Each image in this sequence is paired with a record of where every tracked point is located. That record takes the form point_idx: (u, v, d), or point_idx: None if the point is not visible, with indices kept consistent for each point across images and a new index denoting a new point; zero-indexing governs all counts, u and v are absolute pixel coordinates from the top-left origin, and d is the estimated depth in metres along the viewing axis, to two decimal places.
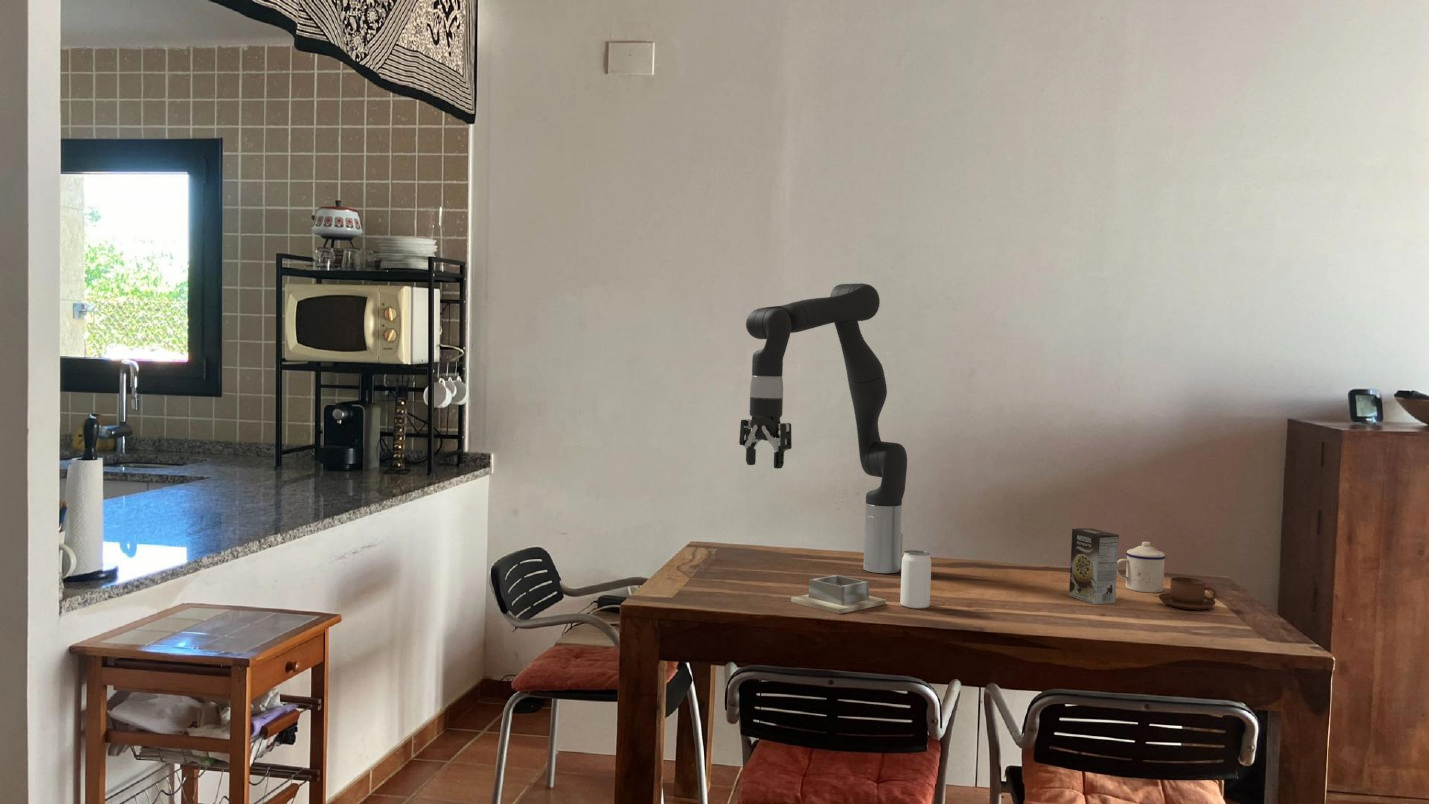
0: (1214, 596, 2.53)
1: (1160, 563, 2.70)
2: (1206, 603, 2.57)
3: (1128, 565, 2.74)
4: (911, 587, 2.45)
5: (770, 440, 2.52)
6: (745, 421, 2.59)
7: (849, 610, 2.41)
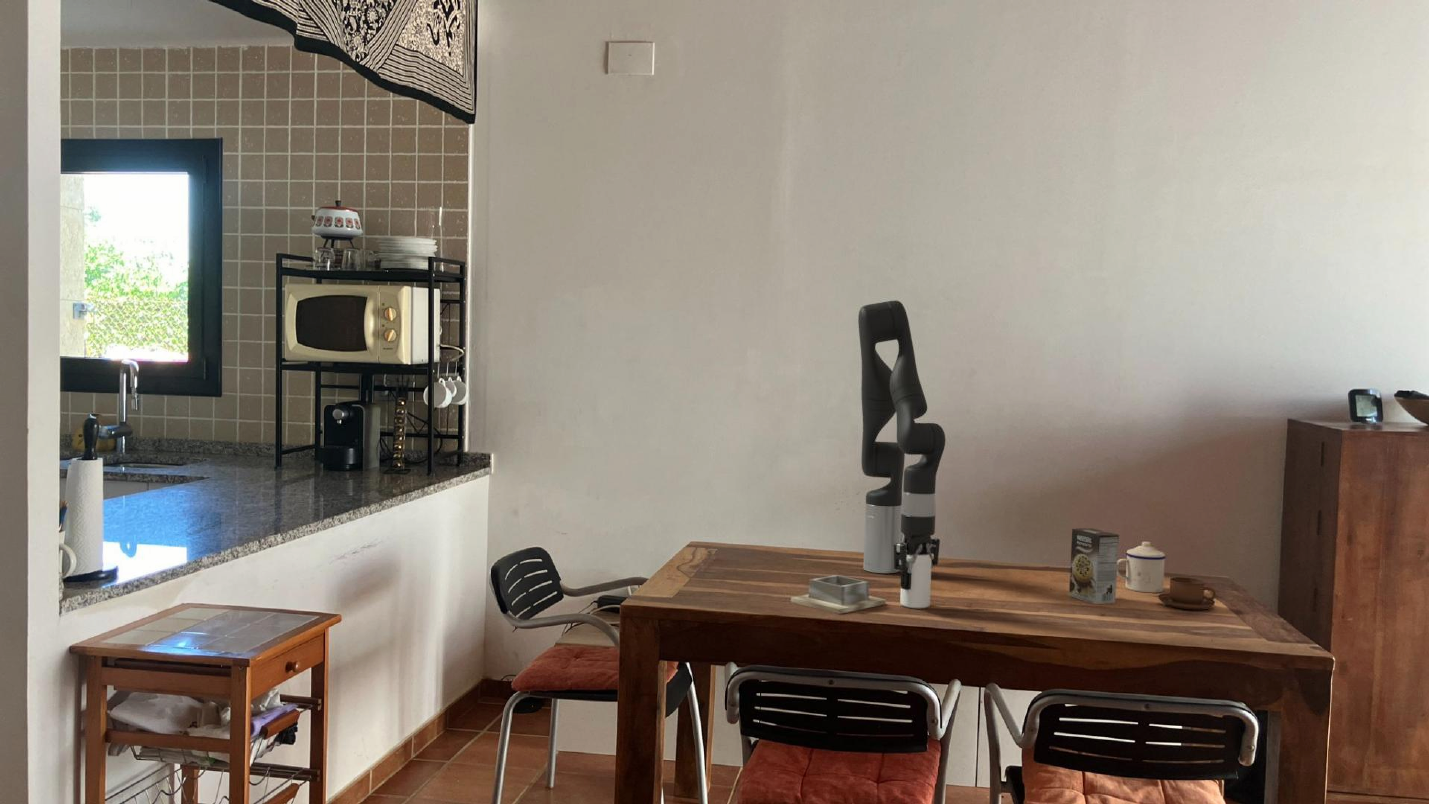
0: (1213, 596, 2.53)
1: (1160, 563, 2.70)
2: (1206, 603, 2.57)
3: (1128, 565, 2.74)
4: (911, 587, 2.45)
5: (930, 557, 2.49)
6: None
7: (849, 610, 2.41)
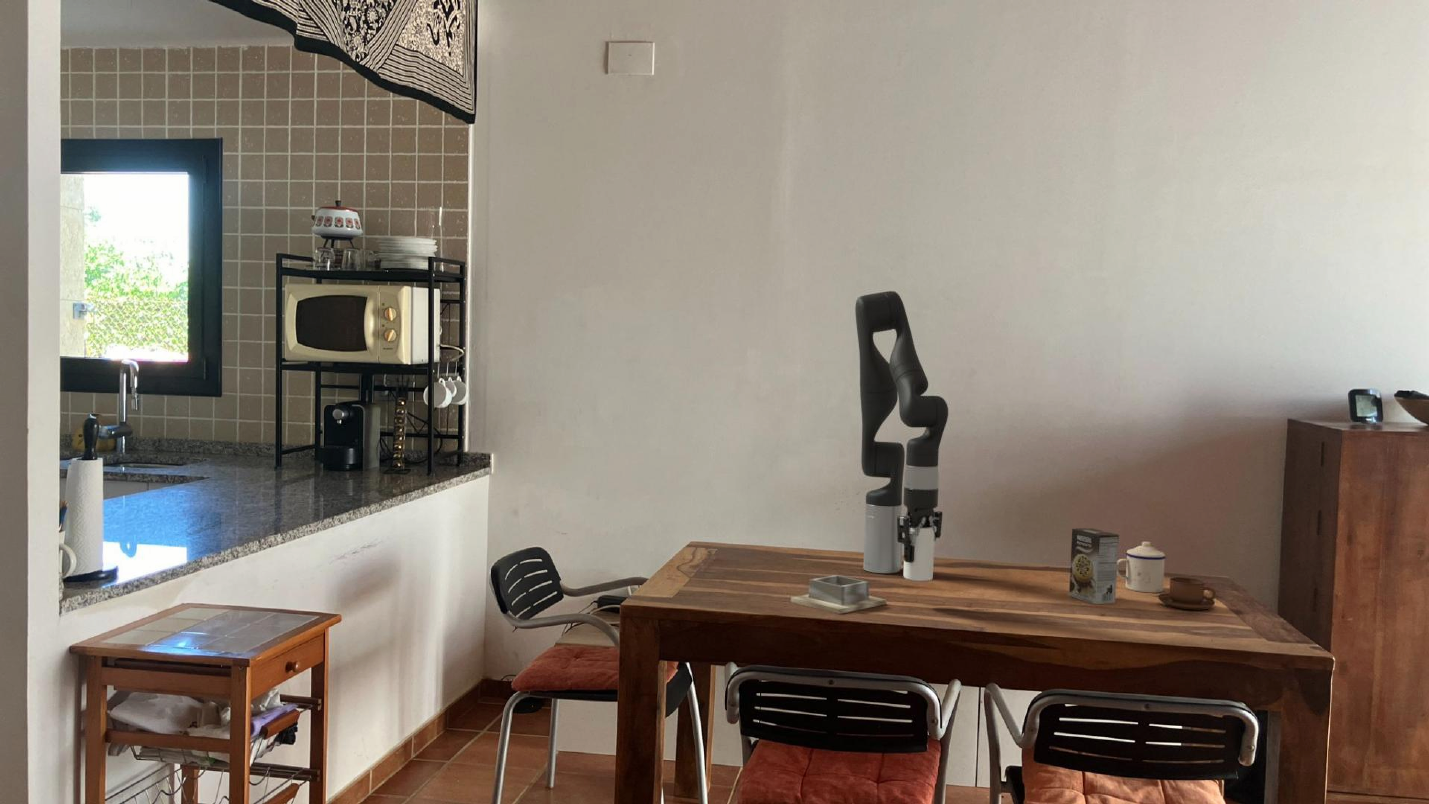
0: (1213, 596, 2.53)
1: (1160, 563, 2.70)
2: (1205, 603, 2.57)
3: (1128, 565, 2.74)
4: (914, 560, 2.45)
5: (933, 530, 2.49)
6: None
7: (849, 610, 2.41)
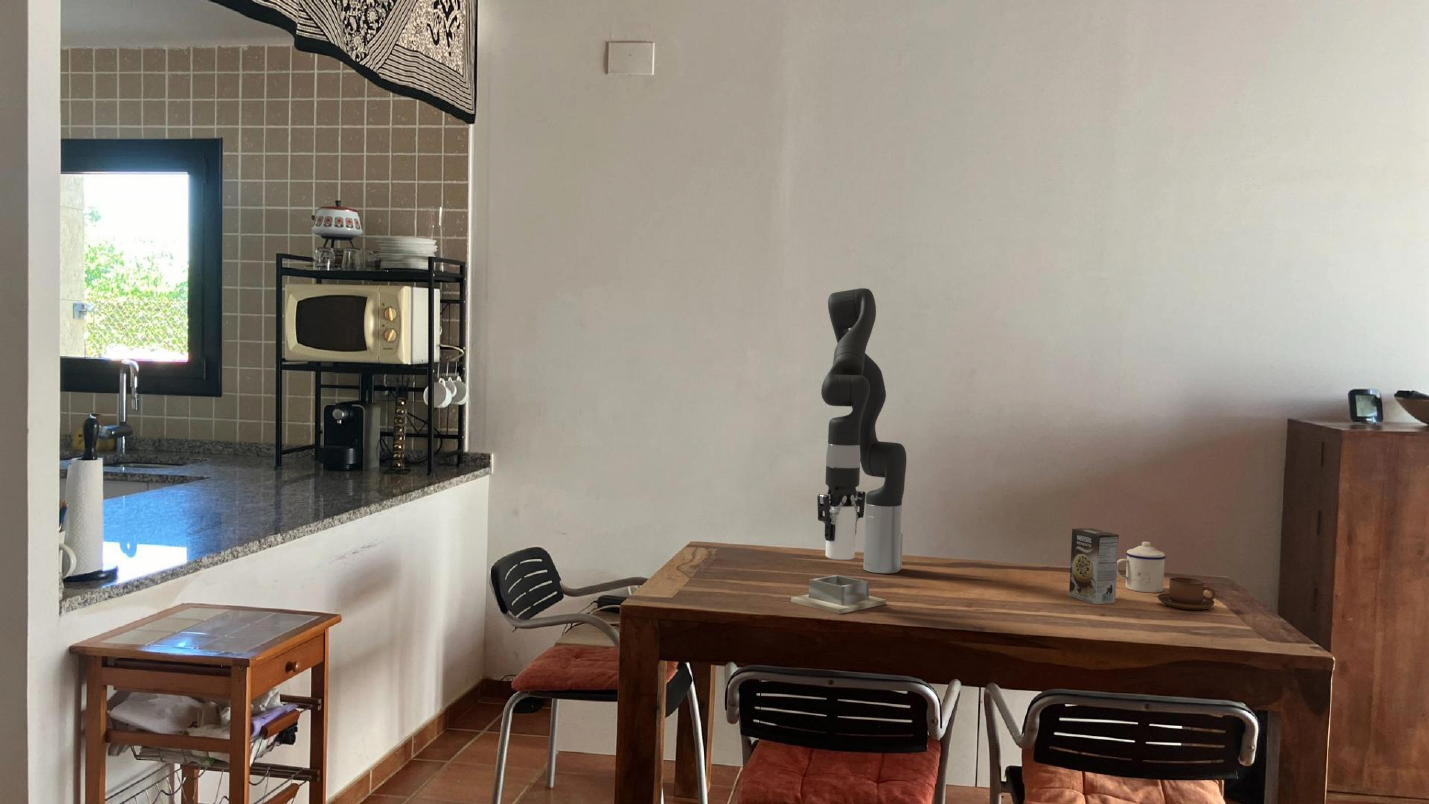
0: (1213, 596, 2.53)
1: (1160, 563, 2.70)
2: (1205, 603, 2.57)
3: (1128, 565, 2.74)
4: (835, 539, 2.46)
5: (855, 510, 2.49)
6: None
7: (849, 610, 2.41)
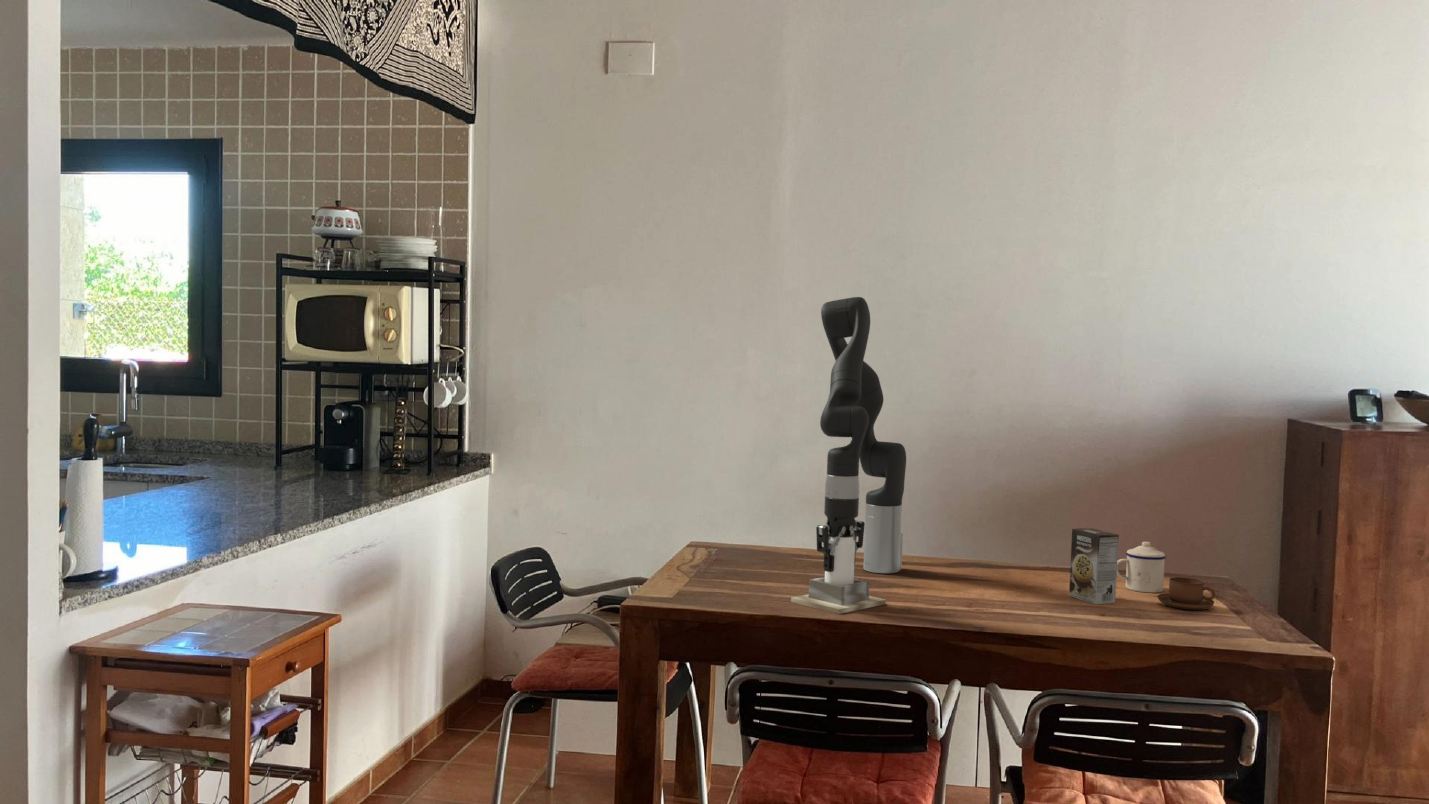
0: (1213, 596, 2.53)
1: (1160, 563, 2.70)
2: (1205, 603, 2.57)
3: (1128, 565, 2.74)
4: (834, 569, 2.46)
5: (854, 540, 2.49)
6: None
7: (849, 610, 2.41)
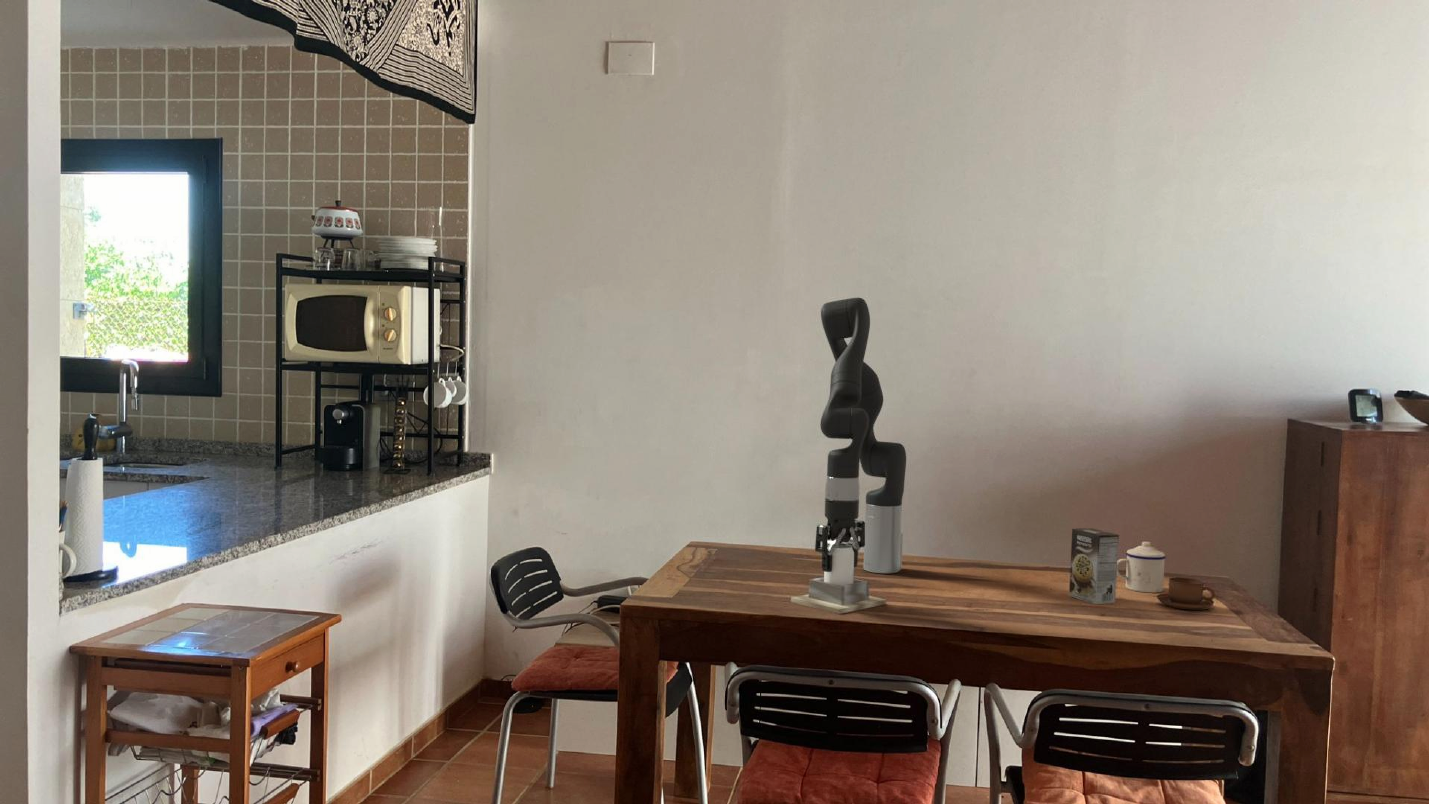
0: (1212, 596, 2.53)
1: (1160, 563, 2.70)
2: (1204, 604, 2.57)
3: (1128, 565, 2.74)
4: (833, 580, 2.46)
5: (856, 540, 2.49)
6: None
7: (849, 610, 2.41)
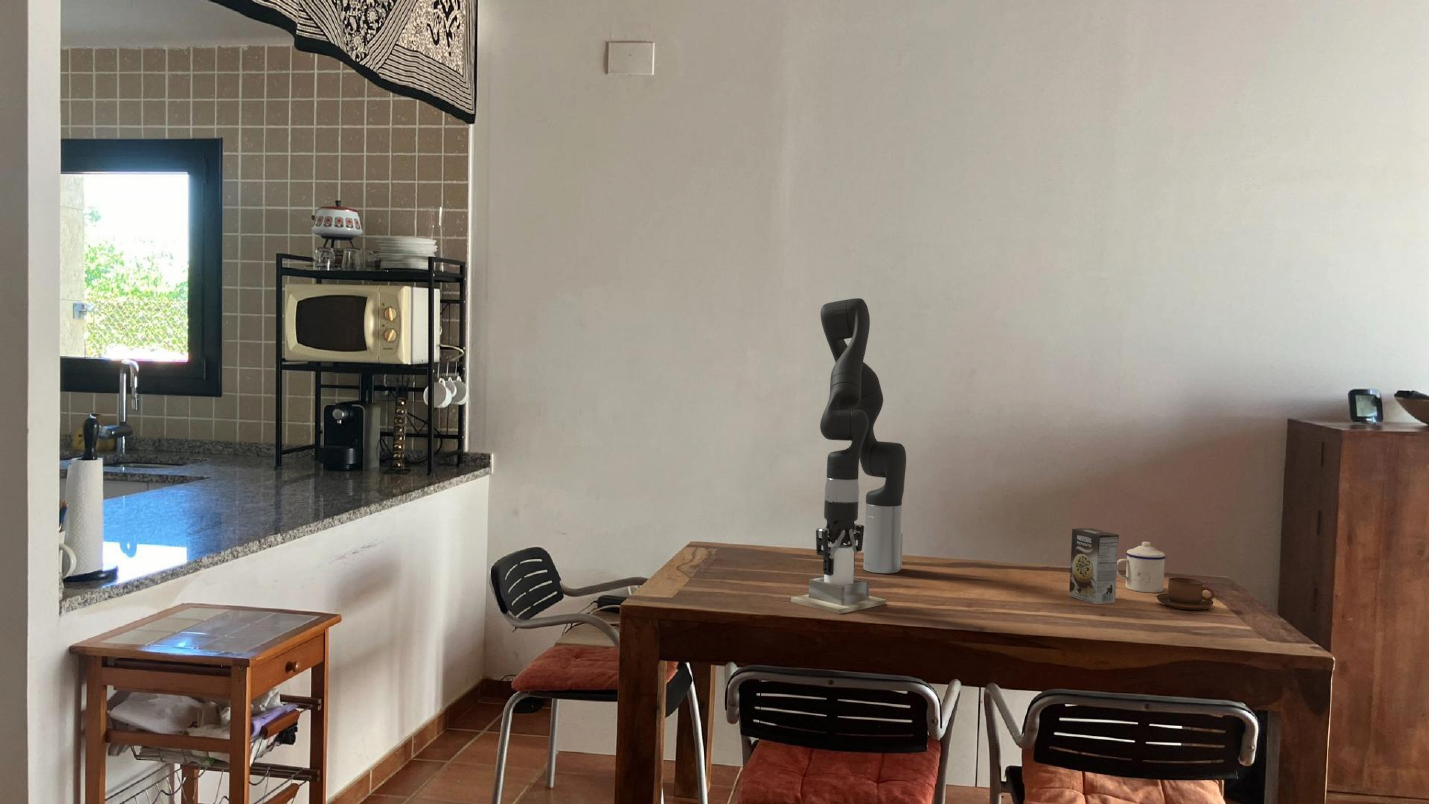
0: (1212, 596, 2.53)
1: (1160, 563, 2.70)
2: (1204, 604, 2.57)
3: (1128, 565, 2.74)
4: (833, 580, 2.46)
5: (854, 544, 2.49)
6: None
7: (849, 610, 2.41)
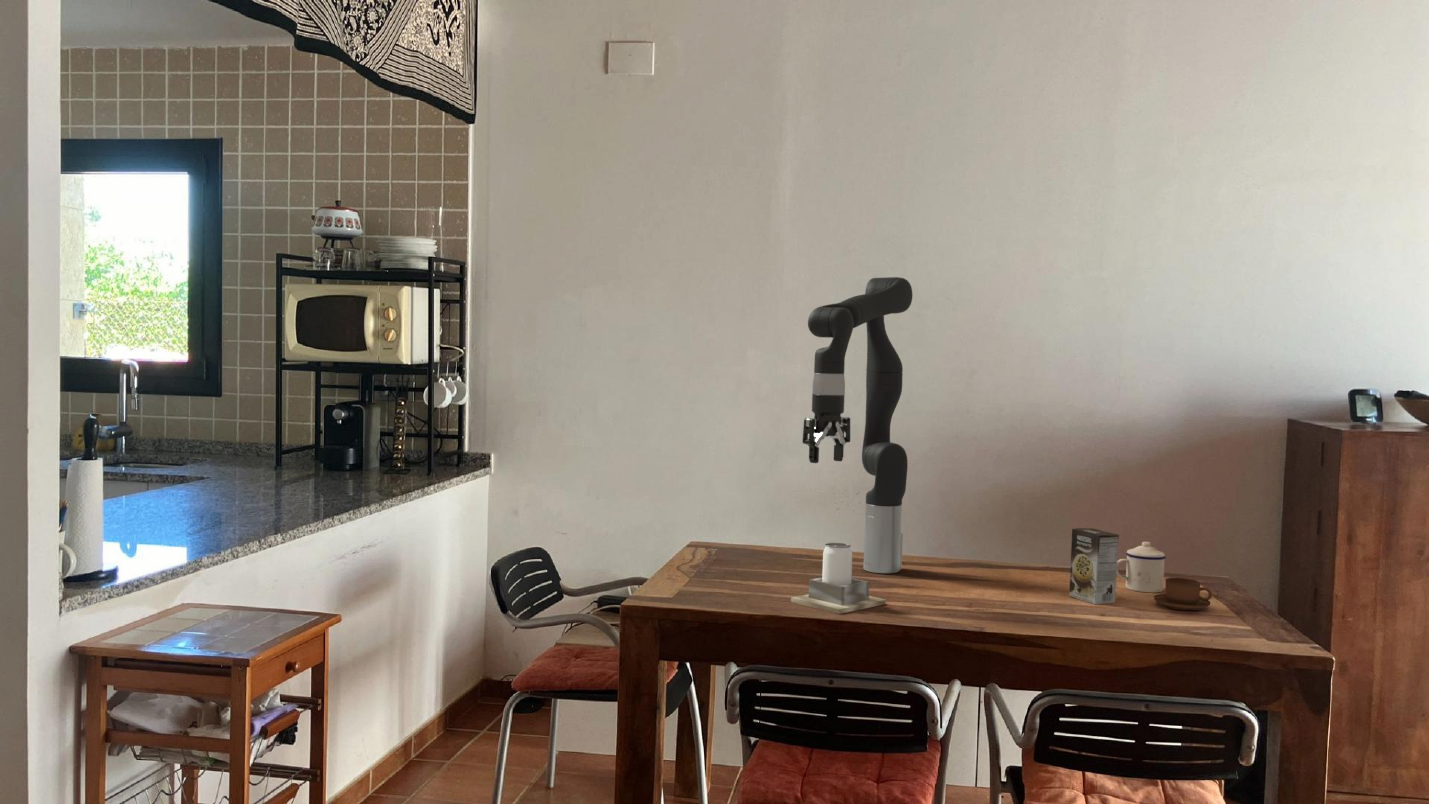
0: (1209, 597, 2.52)
1: (1160, 563, 2.70)
2: (1201, 604, 2.56)
3: (1128, 565, 2.74)
4: None
5: (841, 435, 2.63)
6: None
7: (849, 610, 2.41)
